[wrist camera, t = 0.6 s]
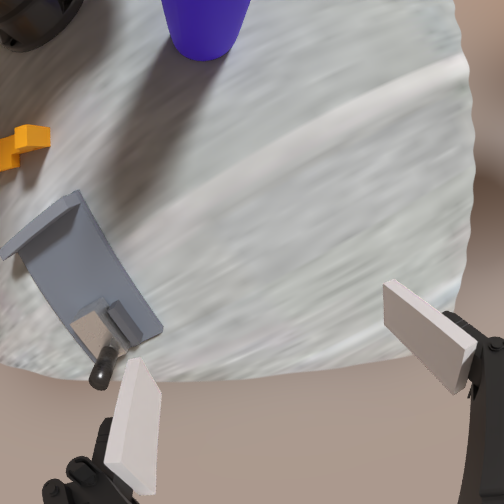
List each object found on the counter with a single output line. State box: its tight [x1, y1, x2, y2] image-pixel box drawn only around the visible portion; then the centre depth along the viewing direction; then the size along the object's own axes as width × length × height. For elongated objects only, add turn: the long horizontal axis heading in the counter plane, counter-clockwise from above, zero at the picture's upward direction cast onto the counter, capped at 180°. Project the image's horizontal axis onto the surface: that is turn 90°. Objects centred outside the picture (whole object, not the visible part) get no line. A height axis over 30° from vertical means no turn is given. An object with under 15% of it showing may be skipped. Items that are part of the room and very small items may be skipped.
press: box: [0, 190, 163, 363], centre depth 35 cm, size 22×13×6 cm, turn 26°
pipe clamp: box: [0, 124, 50, 172], centre depth 27 cm, size 12×4×6 cm, turn 92°
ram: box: [70, 297, 130, 391], centre depth 33 cm, size 7×5×10 cm, turn 26°
